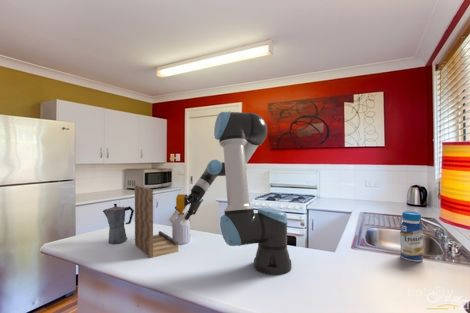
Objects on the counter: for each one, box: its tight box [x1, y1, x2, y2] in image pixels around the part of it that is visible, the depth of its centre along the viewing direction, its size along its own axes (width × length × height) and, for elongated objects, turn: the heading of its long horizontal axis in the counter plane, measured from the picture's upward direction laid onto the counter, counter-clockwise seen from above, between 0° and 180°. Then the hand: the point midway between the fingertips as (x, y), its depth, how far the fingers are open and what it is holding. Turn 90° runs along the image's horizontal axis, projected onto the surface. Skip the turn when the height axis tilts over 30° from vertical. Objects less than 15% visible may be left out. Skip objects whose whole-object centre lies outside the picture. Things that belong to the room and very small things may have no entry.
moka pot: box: [102, 203, 135, 245], centre depth 141 cm, size 10×15×20 cm, turn 107°
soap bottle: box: [171, 193, 191, 245], centre depth 140 cm, size 9×9×25 cm
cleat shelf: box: [134, 184, 179, 259], centre depth 130 cm, size 22×14×30 cm, turn 37°
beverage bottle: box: [399, 210, 424, 263], centre depth 116 cm, size 8×8×20 cm
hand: (175, 222), depth 137 cm, fingers closed on soap bottle, 8 cm apart
